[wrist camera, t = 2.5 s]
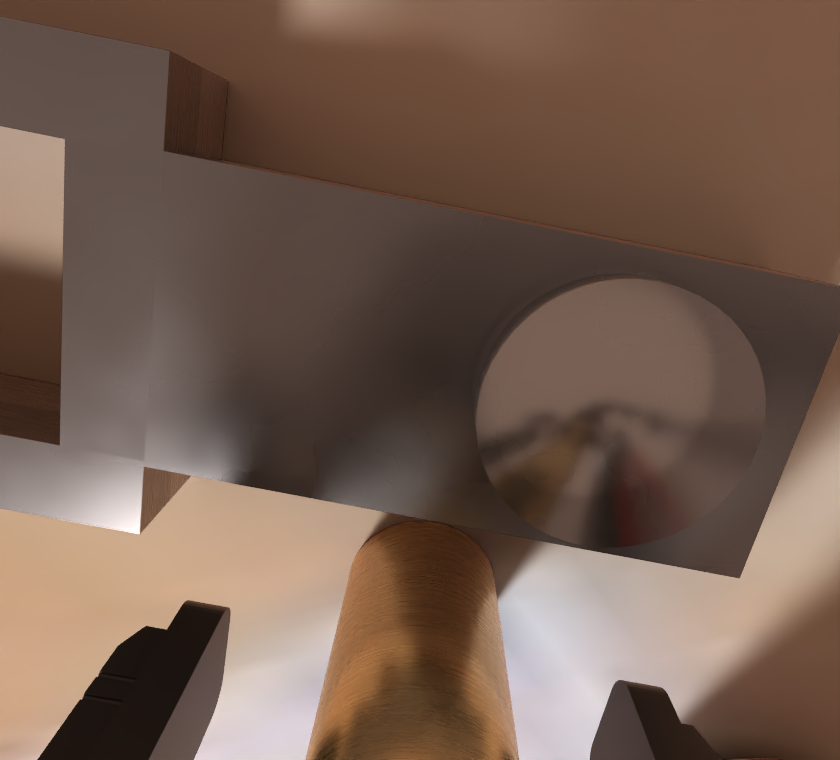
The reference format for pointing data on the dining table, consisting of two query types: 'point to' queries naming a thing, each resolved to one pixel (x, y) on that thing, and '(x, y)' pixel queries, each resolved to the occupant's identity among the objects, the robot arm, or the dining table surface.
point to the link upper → (385, 342)
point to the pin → (417, 655)
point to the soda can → (755, 759)
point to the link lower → (207, 146)
